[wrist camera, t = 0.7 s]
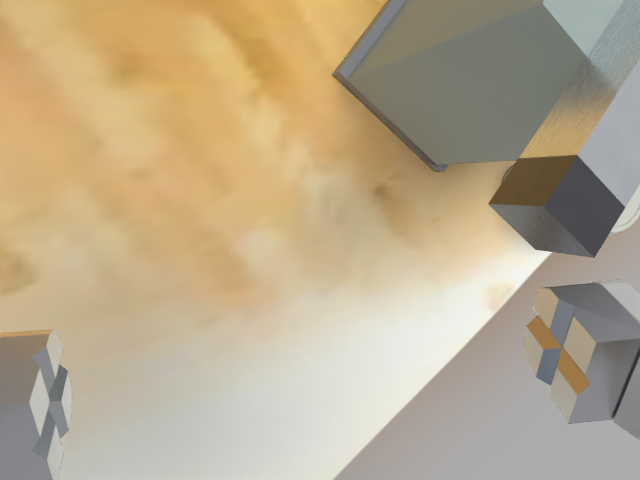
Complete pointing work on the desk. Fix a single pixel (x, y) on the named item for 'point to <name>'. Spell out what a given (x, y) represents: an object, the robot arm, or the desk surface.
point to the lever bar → (582, 150)
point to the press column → (471, 71)
